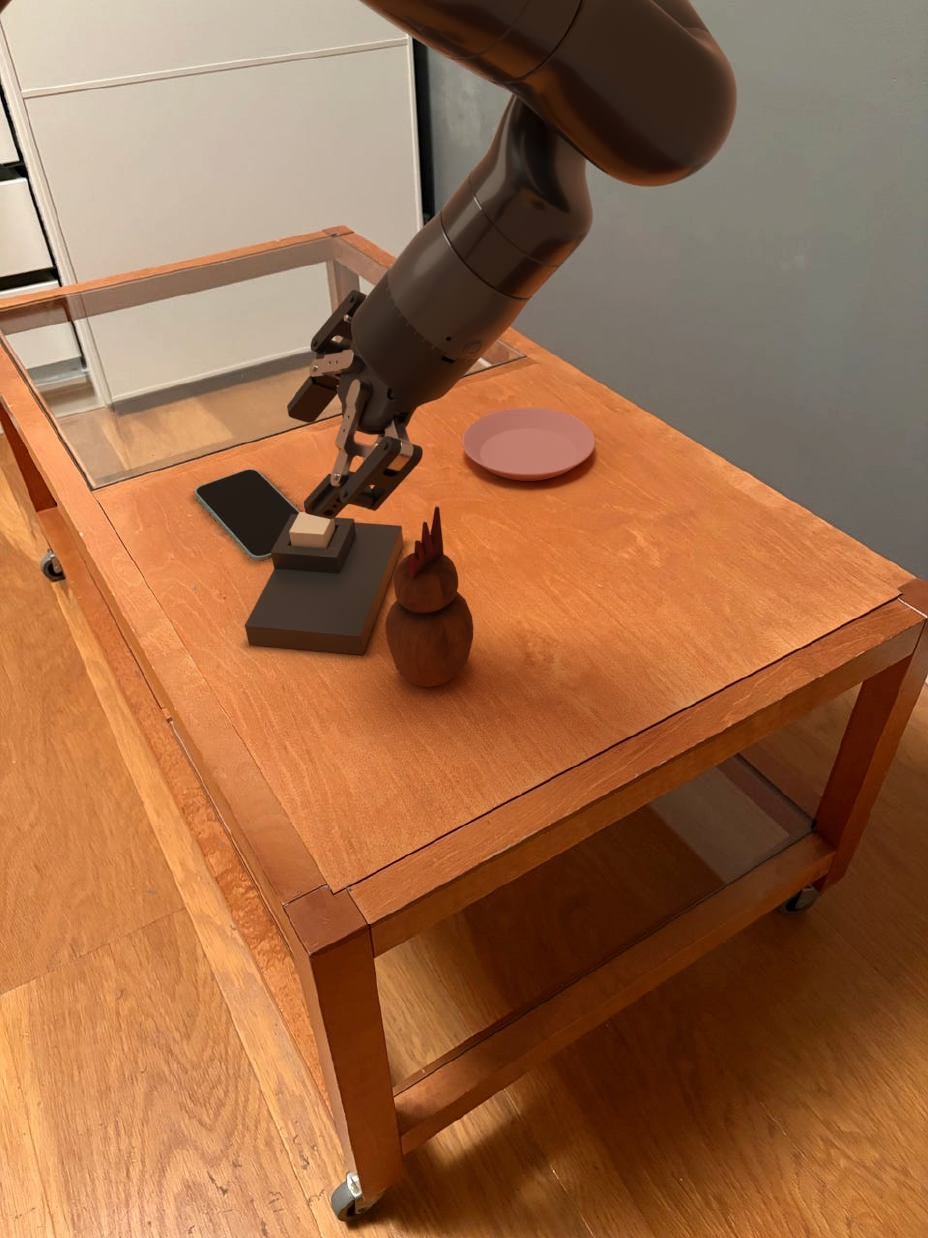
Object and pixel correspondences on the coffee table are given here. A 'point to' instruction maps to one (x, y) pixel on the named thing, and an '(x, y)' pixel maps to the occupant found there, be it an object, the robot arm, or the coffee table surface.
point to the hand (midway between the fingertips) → (306, 463)
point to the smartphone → (247, 510)
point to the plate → (528, 443)
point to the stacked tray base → (326, 589)
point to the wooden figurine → (428, 614)
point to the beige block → (311, 531)
